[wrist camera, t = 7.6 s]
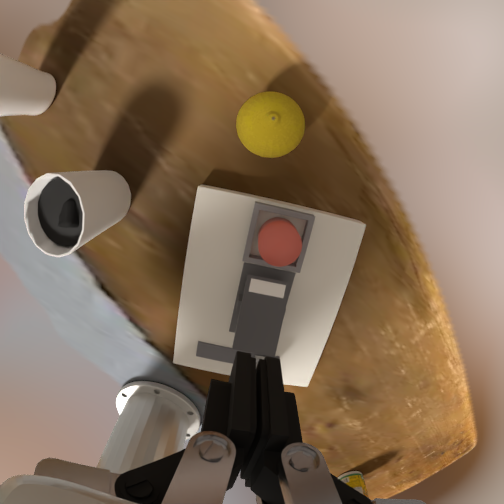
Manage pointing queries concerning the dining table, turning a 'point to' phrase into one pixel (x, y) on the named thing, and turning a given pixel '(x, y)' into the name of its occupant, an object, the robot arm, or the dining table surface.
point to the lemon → (270, 124)
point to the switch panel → (250, 262)
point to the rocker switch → (261, 315)
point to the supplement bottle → (354, 481)
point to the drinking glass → (24, 88)
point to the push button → (279, 242)
